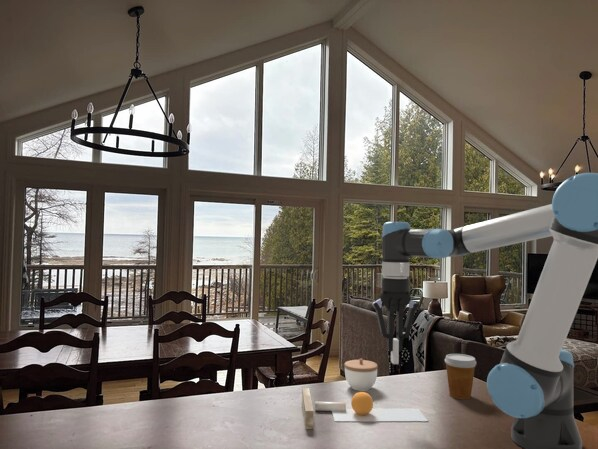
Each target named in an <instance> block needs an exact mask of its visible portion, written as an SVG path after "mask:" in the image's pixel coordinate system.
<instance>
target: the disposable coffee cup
mask: <svg viewBox="0 0 598 449" xmlns="http://www.w3.org/2000/svg"><path fill="white" fill-rule="evenodd" d="M477 362H478V361H477V360H476V358H475V357H474V356H472V355H468V354H465V353H464V354H463V353H449V354H446V355H445V358H444V363H445V367H446V376H447V383H448V390H449V391H448V392H449V393H448V394H449V396H450V397H451V398H454V399H458V400H468V399H469V400H470V399H471V397H472V393H473V392H472V391H473V389H472V388H473V384H474V382H473V381H474V376H475V368H476V366H477Z"/></svg>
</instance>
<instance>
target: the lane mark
mask: <svg viewBox="0 0 598 449" xmlns="http://www.w3.org/2000/svg"><path fill="white" fill-rule="evenodd" d="M331 414H332V418H333V420H334V422H336V423H342V422H343V423H345V422H346V423H349V422H352V423H357V422H358V423H360V422H361V423H366V422H367V423H371V422H372V423H373V422H377V423H378V422H379V423H383V422H384V423H385V422H386V423H390V422H391V423H392V422H393V423H396V422H399V423H401V422H402V423H403V422H405V423H409V422H411V423H413V422H414V423H415V422H418V423H420V422H421V423H428V422H429V420H428V419H427V417H425V415H424V414H423V413H422V412H421V410H420V409H419V408H404V407H403V408H386V407H385V408H382V407H381V408H374V407H373V408H372V410H371V411H370V413H368V414H366V415H359V414H357V413H356V412H355V411H354V410H353V408H352V407H351V408H347V407H346V411H331Z"/></svg>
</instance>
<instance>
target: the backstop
mask: <svg viewBox="0 0 598 449" xmlns="http://www.w3.org/2000/svg"><path fill="white" fill-rule="evenodd" d="M310 392H311V391H310V388H309V387H301V407H302V412H303V413H302V414H303V421H304V428H305V430H309V429H310V430H313V429H314V407H313V402H312V398H311V393H310Z"/></svg>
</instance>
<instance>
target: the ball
mask: <svg viewBox="0 0 598 449" xmlns="http://www.w3.org/2000/svg"><path fill="white" fill-rule="evenodd" d="M350 403H351V408H353V410H354V411H355V412H356V413H357V414H359V415H366V414H368V413H370V411H371V410H372V408H374V401H373V398H372V396H371V395H370V394H369V393H367V392H366V391H359V392H358V391H357V392H356V393H355V394H354V395H353V396H352V398H351V402H350Z"/></svg>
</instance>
